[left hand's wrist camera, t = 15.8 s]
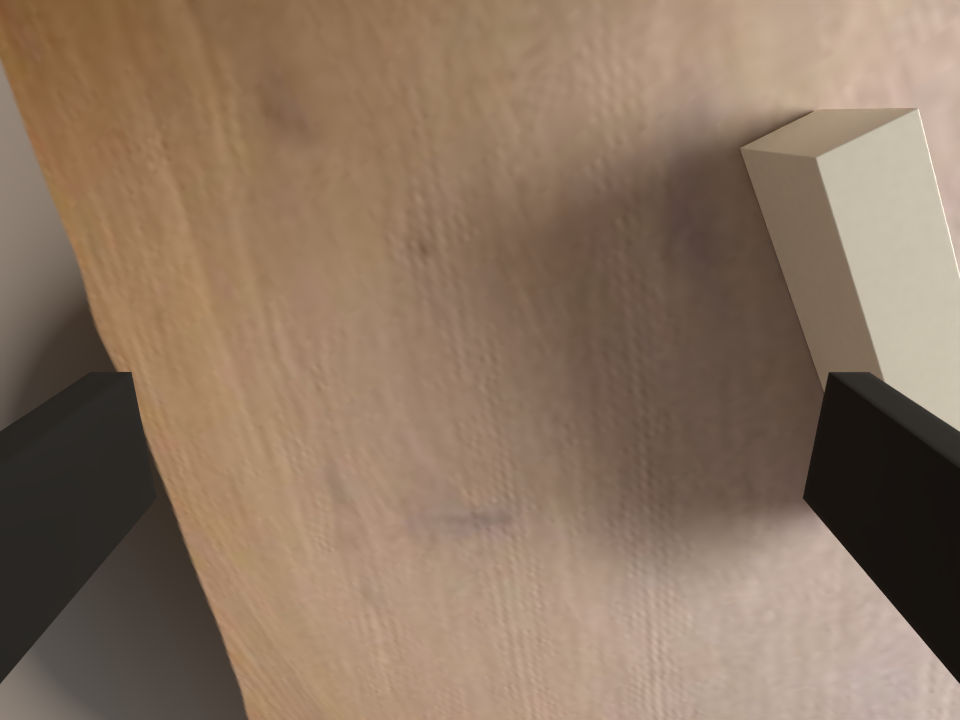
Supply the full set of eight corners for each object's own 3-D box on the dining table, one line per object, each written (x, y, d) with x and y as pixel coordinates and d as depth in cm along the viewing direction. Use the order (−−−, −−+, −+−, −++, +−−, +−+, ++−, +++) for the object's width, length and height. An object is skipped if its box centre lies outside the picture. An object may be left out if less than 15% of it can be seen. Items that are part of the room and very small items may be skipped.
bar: (739, 147, 36) (814, 157, 28) (818, 109, 35) (919, 107, 27) (861, 502, 44) (947, 589, 36) (927, 476, 44) (1030, 559, 35)
